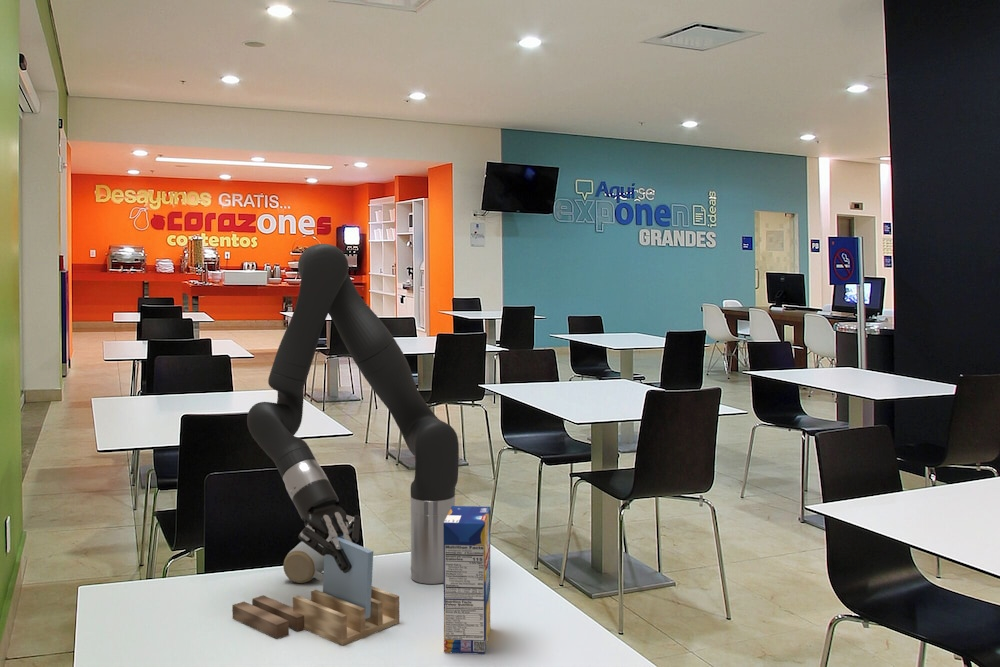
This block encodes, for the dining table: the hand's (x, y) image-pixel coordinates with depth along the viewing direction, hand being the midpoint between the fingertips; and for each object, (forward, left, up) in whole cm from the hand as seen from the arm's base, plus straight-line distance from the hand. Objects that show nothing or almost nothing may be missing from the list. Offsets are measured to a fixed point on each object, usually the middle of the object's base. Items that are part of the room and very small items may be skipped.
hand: (352, 569), depth 154 cm
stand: (+13, -9, -11) cm, 19 cm away
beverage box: (-15, +15, -11) cm, 24 cm away
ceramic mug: (-1, -28, -11) cm, 30 cm away
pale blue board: (+1, -2, -7) cm, 8 cm away
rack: (+1, -2, -11) cm, 11 cm away
